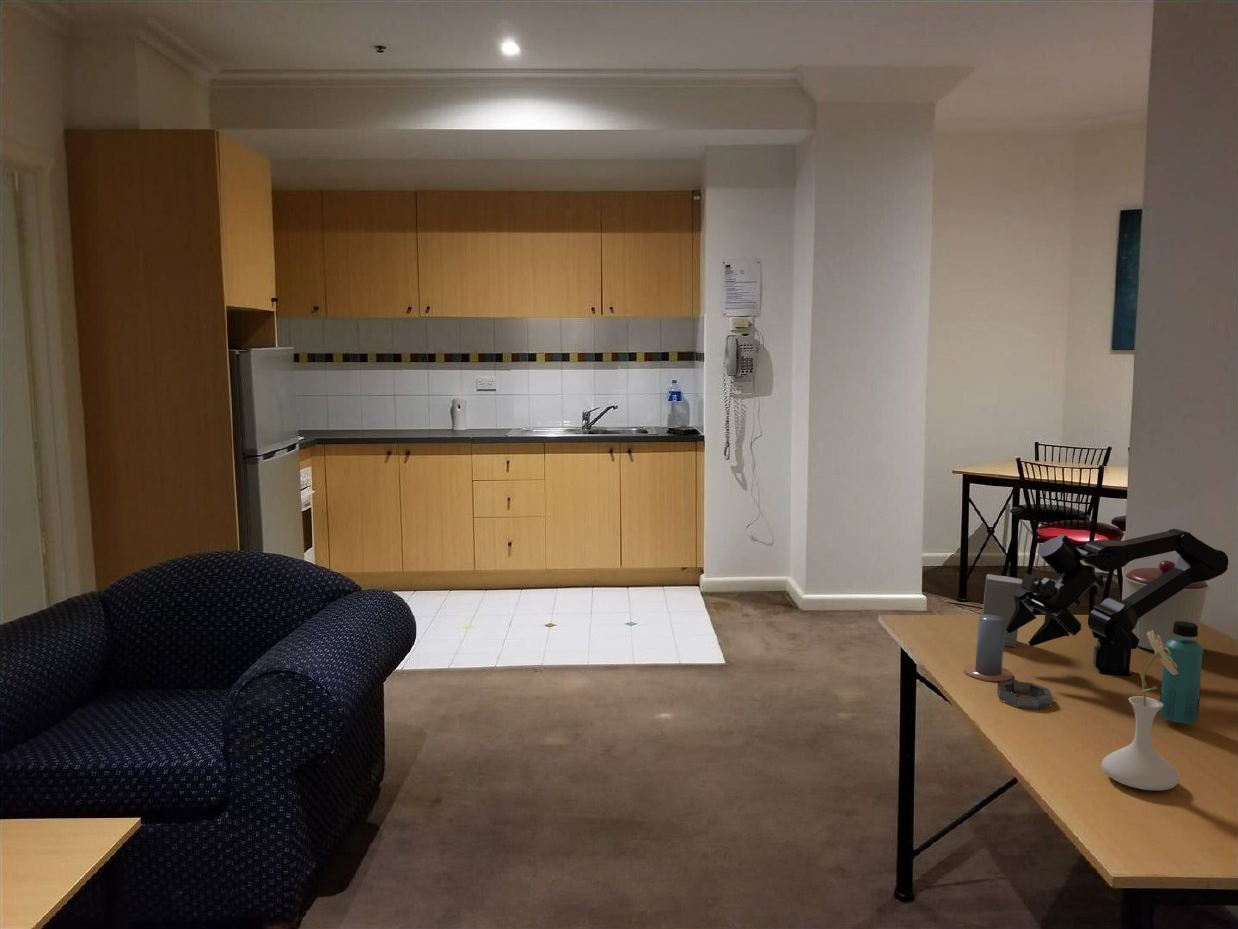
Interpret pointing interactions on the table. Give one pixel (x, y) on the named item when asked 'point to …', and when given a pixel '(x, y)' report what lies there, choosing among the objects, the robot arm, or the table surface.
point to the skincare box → (1001, 601)
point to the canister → (1165, 605)
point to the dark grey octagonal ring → (1023, 701)
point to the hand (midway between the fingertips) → (1018, 638)
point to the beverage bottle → (1182, 676)
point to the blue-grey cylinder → (990, 645)
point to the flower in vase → (1144, 738)
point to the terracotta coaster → (972, 673)
